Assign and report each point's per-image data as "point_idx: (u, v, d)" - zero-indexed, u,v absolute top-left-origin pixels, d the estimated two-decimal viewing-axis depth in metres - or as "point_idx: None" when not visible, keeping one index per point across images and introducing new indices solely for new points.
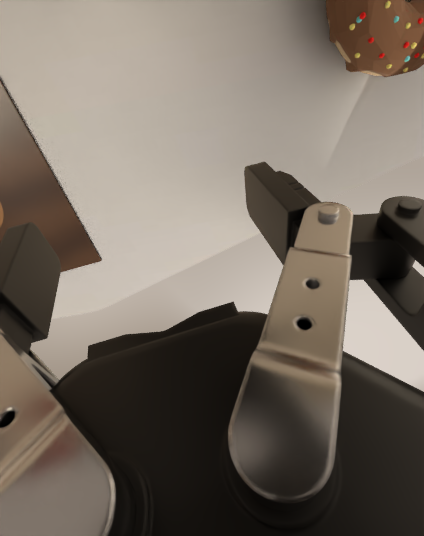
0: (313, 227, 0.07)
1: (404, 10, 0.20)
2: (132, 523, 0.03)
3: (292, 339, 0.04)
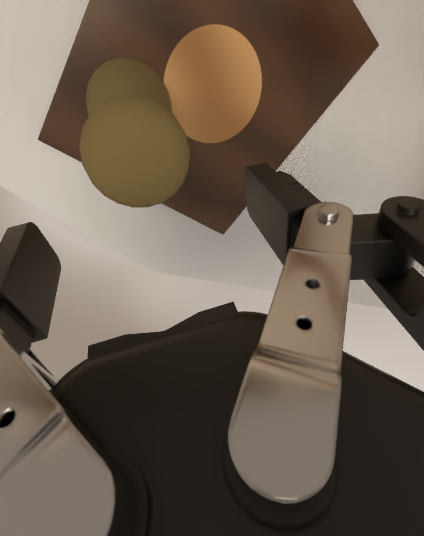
0: (313, 227, 0.07)
1: None
2: (132, 523, 0.03)
3: (292, 339, 0.04)
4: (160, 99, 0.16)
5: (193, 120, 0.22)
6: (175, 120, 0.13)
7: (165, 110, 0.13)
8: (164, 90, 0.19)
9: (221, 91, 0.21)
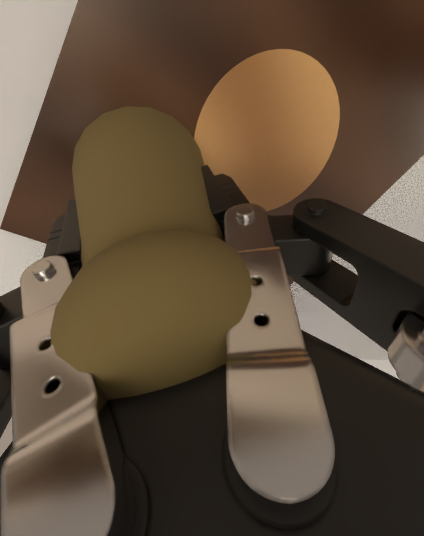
0: (236, 229, 0.07)
1: None
2: (132, 523, 0.03)
3: (256, 338, 0.05)
4: (203, 191, 0.09)
5: None
6: None
7: (246, 276, 0.05)
8: (199, 156, 0.12)
9: (278, 145, 0.14)
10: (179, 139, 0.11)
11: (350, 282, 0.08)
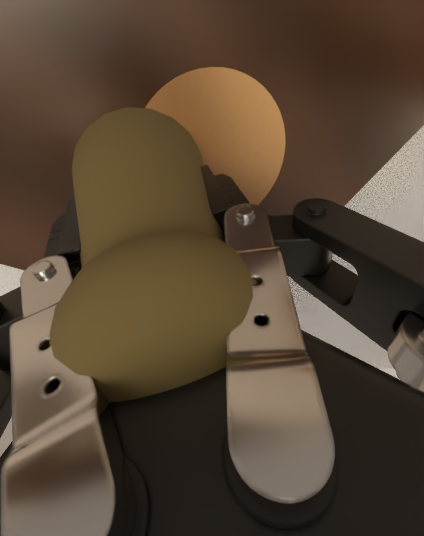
0: (236, 229, 0.07)
1: None
2: (132, 523, 0.03)
3: (256, 338, 0.05)
4: (204, 193, 0.09)
5: None
6: None
7: (248, 278, 0.05)
8: (199, 158, 0.12)
9: (223, 162, 0.14)
10: (180, 141, 0.11)
11: (350, 282, 0.08)
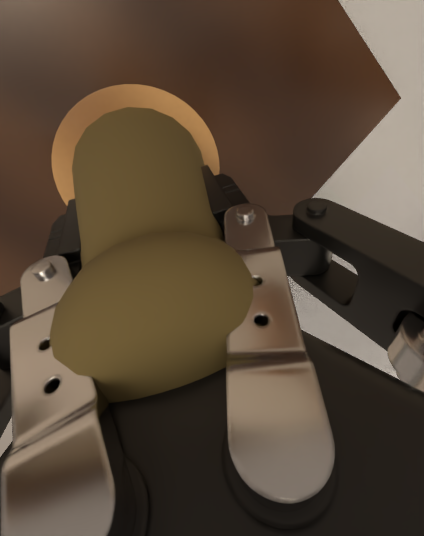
0: (236, 229, 0.07)
1: None
2: (132, 523, 0.03)
3: (256, 338, 0.05)
4: (204, 193, 0.09)
5: None
6: None
7: (248, 278, 0.05)
8: (199, 158, 0.12)
9: None
10: (180, 141, 0.11)
11: (350, 282, 0.08)
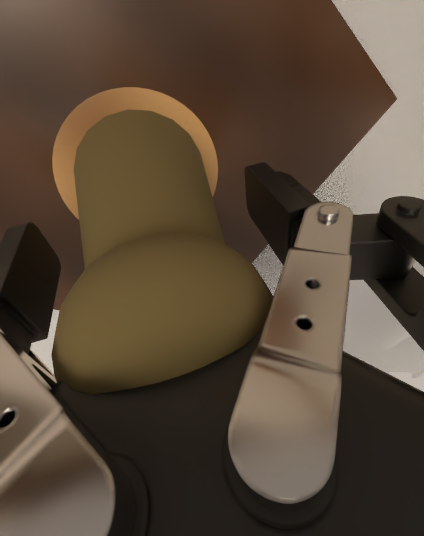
0: (313, 227, 0.07)
1: None
2: (132, 523, 0.03)
3: (292, 339, 0.04)
4: (204, 194, 0.09)
5: None
6: (265, 292, 0.06)
7: (246, 277, 0.06)
8: (199, 159, 0.12)
9: None
10: (180, 142, 0.11)
11: None
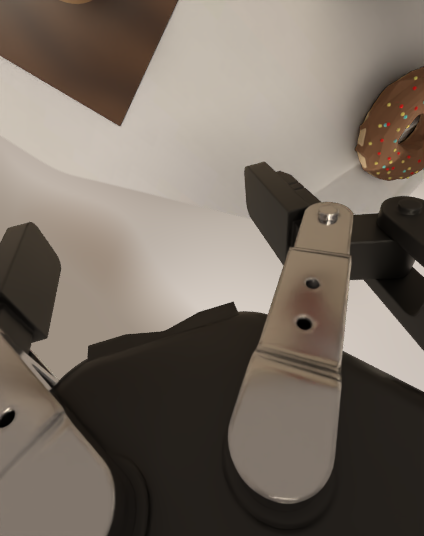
0: (313, 227, 0.07)
1: (397, 141, 0.36)
2: (132, 523, 0.03)
3: (292, 339, 0.04)
4: None
5: None
6: None
7: None
8: None
9: None
10: None
11: None
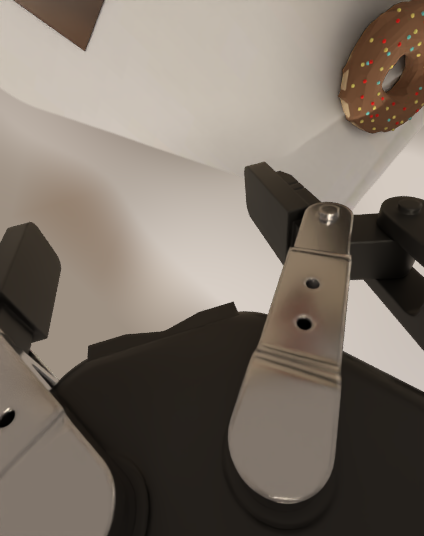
0: (313, 227, 0.07)
1: (381, 84, 0.34)
2: (132, 523, 0.03)
3: (292, 339, 0.04)
4: None
5: None
6: None
7: None
8: None
9: None
10: None
11: None
